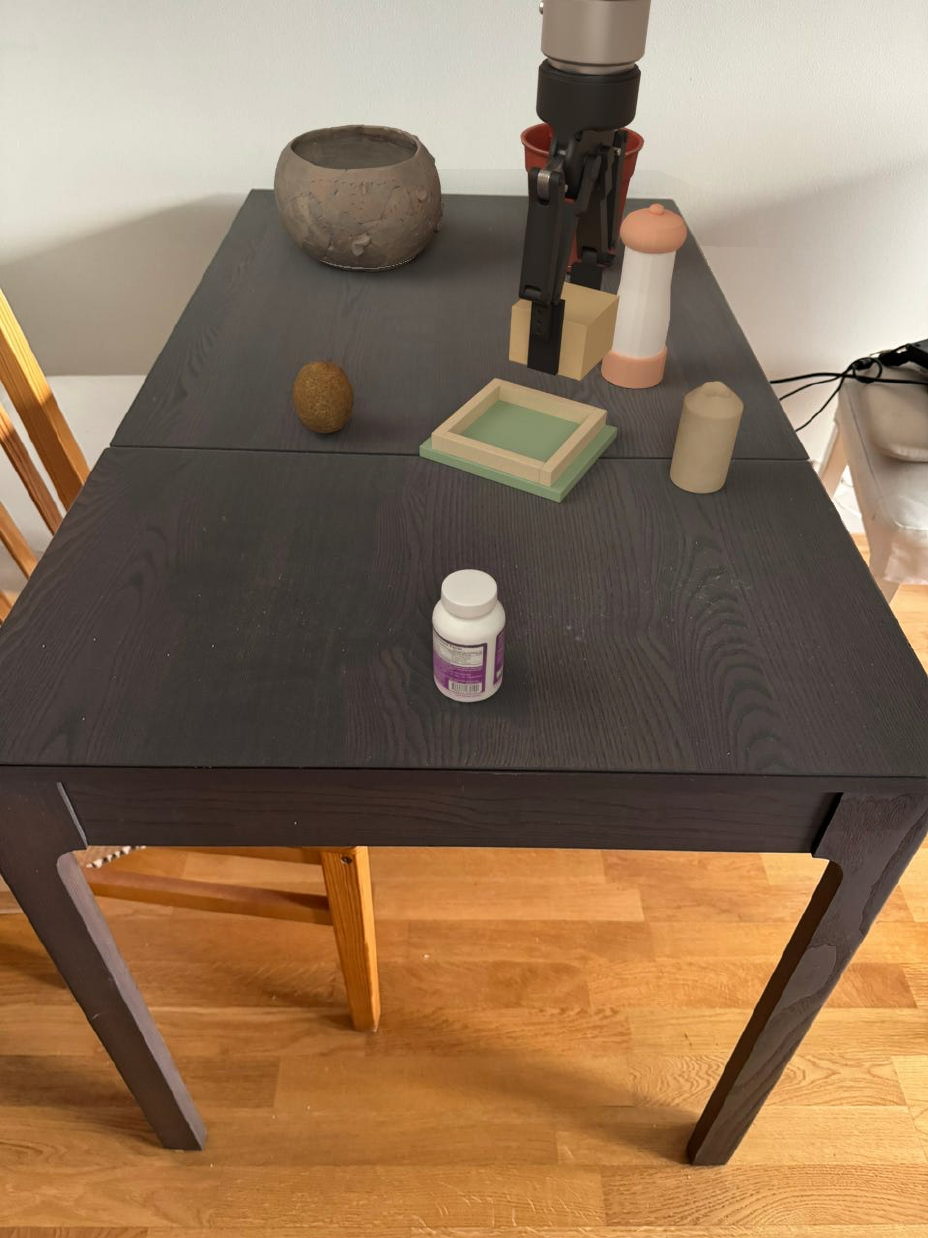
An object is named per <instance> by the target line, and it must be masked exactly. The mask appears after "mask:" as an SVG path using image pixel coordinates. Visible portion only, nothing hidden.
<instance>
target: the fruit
mask: <svg viewBox="0 0 928 1238" xmlns="http://www.w3.org/2000/svg"><path fill="white" fill-rule="evenodd" d="M350 382H351V381H350V379H349V377H348V375H347V374H346V372H345V370H344V369H342V368H341V367H340V366H339V365H337V364H336V363H335V362H332V361H327V360H317V361H312V362H310V363H309V362H308V363H307V364H305V365H304V366H303V367H302V368H301V369H300V371H299V372H298V374H297V376H296V378H295V381H294V383H293V387H292V401H293V405H294V409H295V411H296V414H297V417H298V419H299V420H300V421H301V423H302V424H303V425H304V426H305V427H306V428H307V429H308V430H310V431H312V432H314V433H318V434H324V435H325V434H326V435H327V434H332V433H335V432H338V431H340V430H341V429H342V428H343V427H345V426H346V425H347V423H348V421H349V419H350V418H351V415H352V411H353V407H354V401H355V400H354V399H355V398H354V392H353V391H354V390H353V387H352V384H351V383H350Z"/></svg>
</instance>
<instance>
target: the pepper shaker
mask: <svg viewBox="0 0 928 1238" xmlns="http://www.w3.org/2000/svg"><path fill="white" fill-rule="evenodd" d="M622 220H623V221H622V222H621V225H620V230H619V235H620V236H619V237H620V240H621V242H622V243H623V245H624V246H625V247H624V252H623V253H624V254H623V261H622V267H621V273H620V280H619V281H620V282H619V285H618V289H617V292H616V295H618V296H620V297H619V304H618V311H617V318H616V325H615V332H614V339H613V345H612V349H611V350H610V351H609V352H608V353H607V354H606V355H605V356H604V357H603V358H602V359H601V368H600V373H601V376H602V377H603V378H604V379H605V380H606V381H607V382H609V383H611V384H613V385H615V386H618V387H621V388H627V389H636V390H637V389H647V388H652V387H654V386H656V385H658V384H660V383H661V382H662V381H663V378H664V374H665V373H664V372H665V368H666V367H665V366H666V360H667V356H668V350H669V349H668V346H667V344H666V341H667V337H668V332H669V326H670V322H671V289H672V286H671V285H672V278H673V273H674V266H675V261H676V255H677V254H676V253H677V251H678V250H679V249H680V248H681V247H682V246H683V245H684V243H685V241H686V239H687V235H688V230H687V225H686V223H685V221H684V219H683V218H682V216H680V215H678V214H677V213H675V212H674V211H671V210H669V209H667V208H665V206H664V205H662V204H660V203H653V204H651V205H650V206H649V207H644V208H641V209H640V208H639V209H637V210H633V211H631V212H629V213H628V214H627V215H626V216H625V218H624V219H622Z"/></svg>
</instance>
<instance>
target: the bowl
mask: <svg viewBox="0 0 928 1238" xmlns="http://www.w3.org/2000/svg"><path fill="white" fill-rule="evenodd" d="M273 177H274V178H273V194H274V203H275V205H276V209H277V213H278V216H279V219H280V221H281V223H282V225H283V228H284V229H285V231H286V232H287V233H288V236H289V237H290V239H291V240H292V241H293V242H294V243H295V245H296V246H297V247H298V249H300V250H301V251H303V252H304V253H305V254H307V255H308V254H309V255H308V256H310V257H312V256H313V257H312V258H314V257H315V258H314V259H316V258H317V259H319V260H322V261H325V262H328V263H332V264H336V265H342V266H350V267H363V268H378V267H385V266H391V267H385V268H379V269H352V268H344V267H339V266H334V265H330V264H327V263H324V262H322V263H323V264H325V265H327V266H330V267H333V268H335V269H336V268H337V269H339V270H344V271H348V272H368V273H379V272H386V271H390V270H393V269H397V268H400V267H403V266H405V265H407V264H408V263H410V262H411V261H413V260H414V259H416V257H417V256H418V255H419V254H420V253H421V252H422V251H424V249H425V247H426V246H427V245H428V243H429V242H430V240H431V239H432V237H433V234H434V233H439V231H440V230H441V222H442V220H443V216H444V210H445V206H446V205H445V204H444V203H442V185H441V180H440V174H439V171H438V168H437V166H436V158H435V157H434V156H433V154H432V153H430V151H429V149H428V148H427V146H426V145H425V144H424V143H423V142H422V141H421V140H420V138H419V136H418V135H415V134H412V133H410V132H408V131H407V130H402V129H401V128H397V127H390V126H385V125H375V124H374V125H369V124H368V125H367V124H346V125H339V126H330V127H324V128H316V129H313V130H310V131H306V132H303V133H301V134H300V135H297V136H295V137H294V138H293V139H292V140H289V142H287V144H286V145H285V146H284V147H283V149H282V150H281V151H280V155H279V157H278V160H277V163H276V167H275V170H274V176H273ZM417 254H418V255H417ZM416 255H417V256H416ZM413 257H414V258H413ZM412 258H413V259H412ZM317 259H316V260H317ZM410 259H411V260H410ZM319 260H318V261H319ZM407 260H409V261H407ZM405 261H407V262H405ZM403 262H404V263H403ZM399 263H402V264H399ZM396 264H398V265H396ZM392 265H395V266H392Z"/></svg>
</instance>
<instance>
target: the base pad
mask: <svg viewBox="0 0 928 1238" xmlns="http://www.w3.org/2000/svg"><path fill="white" fill-rule="evenodd" d="M607 416H608V410H606V409H603V408H599V407H596V406H594V405H590V404H586V403H583V402H579V401H576V400H573V399H569V398H567V397H566V398H565V397H562V396H559V395H555V394H551V393H548V392H545V391H541V390H539V389H535V388H531V387H528V386H524V385H521V384H518V383H514V382H511V381H507V380H503V379H500V378H496V377H494V378H493V379H492V380H491V381H490V382H488V383H487V384H486V385H485V386H484V387H483V388H481V390H479V391H478V392H477V393H476V394H475V395H474V396H472V397H471V398H470V399H469V400H468V401H467V402H465V404H463V405H462V406H461V407H460V408H459V409H457V411H455V412H454V413H453V414H452V415H451V416H449V418H447V419H446V420H444V422H443V423H441V424H440V425H439V426H438V427H437V428H435V430H434V431H432V432H431V436H430V437H429V438H427V439H426V440H425V441H423V443H422V444H421V445H419V457H422V458H424V459H426V460H427V459H428V460H431V461H434V462H437V463H439V464H442V465H445V466H448V467H451V468H454V469H457V470H460V471H463V472H466V473H469V474H472V475H475V476H478V477H481V478H484V479H487V480H490V481H493V482H496V483H499V484H501V485H505V486H508V487H511V488H514V489H517V490H520V491H522V492H526V493H528V494H531V495H535V496H538V497H541V498H544V499H547V500H550V501H552V502H556V503H561V502H562V501H563V500H564V499H565V498H566V496H567V495H568V494H569V493H570V492H571V490H572V489H573V488H574V487H575V486H576V485H577V484H578V482H579V481H580V480H581V479H582V478H583V477H584V475H585V474H586V473H587V472H588V471H589V470H590V468H592V466H593V465H594V464H595V463H596V461H598V459H599V458H600V457H601V456H602V455H603V454H604V452H605V451H606V450H607V449H608V448H609V446H611V444H612V443H613V442H614V441H615V440H616V438H617V436H618V430H619V429H618V427H616V426H613V425H610V424H607Z"/></svg>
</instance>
